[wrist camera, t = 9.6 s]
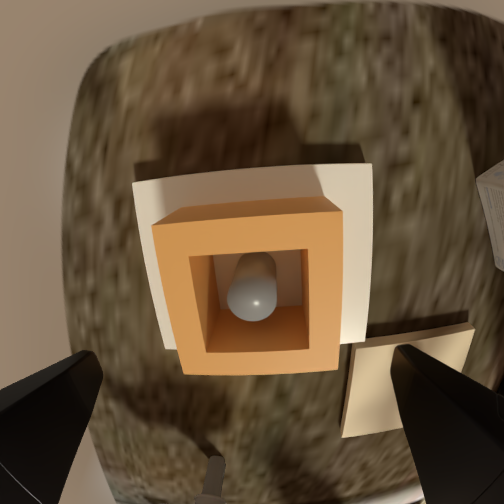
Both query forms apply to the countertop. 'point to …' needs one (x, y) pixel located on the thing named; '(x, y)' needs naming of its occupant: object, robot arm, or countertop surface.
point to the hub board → (269, 262)
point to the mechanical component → (212, 482)
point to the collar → (282, 318)
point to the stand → (379, 380)
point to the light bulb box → (494, 208)
